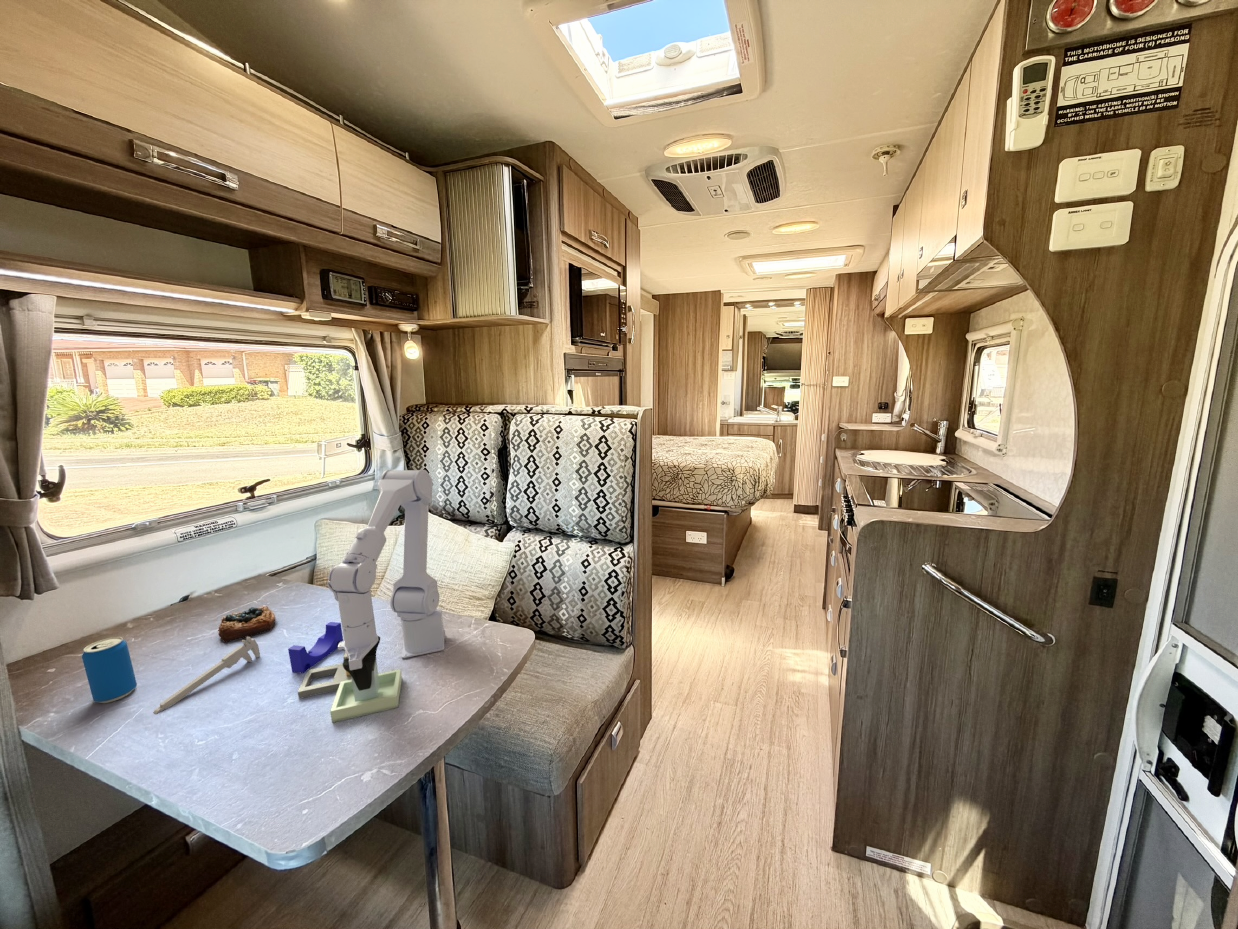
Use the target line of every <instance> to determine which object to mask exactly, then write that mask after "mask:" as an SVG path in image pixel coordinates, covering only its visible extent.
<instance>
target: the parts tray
mask: <svg viewBox="0 0 1238 929" xmlns="http://www.w3.org/2000/svg"><path fill="white" fill-rule="evenodd" d="M378 676H379V684H380V686H379V691H378V696H377V697H374V698H370V699H366V700H361V701H357V702H355V697H354V691H353V684H352V679H351V680H347V681H342V682H340V685H339V688H338V690H336V693H335V697H334V700H333V703H332V706H331V709H330V710H329V711H330V713H329V714H330V717H331V718H330V719H331V723H332V724H334V723H337V722H341V721H346V720H350V719H354V718H359V717H363V716H367V715H372V714H376V713H381V712H384V711H388V710H389V711H390V710H392V709H393V710H394V709H398V708H399V704H400V696H401V690H402V689H401V688H402V682H403V675H402V669H401V668H399V669H395V670H390V671H385V672H380V673H378Z"/></svg>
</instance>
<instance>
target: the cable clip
mask: <svg viewBox="0 0 1238 929" xmlns="http://www.w3.org/2000/svg"><path fill="white" fill-rule="evenodd" d="M342 641H344V637H343V630H342V624H341V622H336V621H334V622H333V621H329V622H327V623H326V624H325V633H323V634H322V635H321V636H319V637H318V638H317V641H316V642H315V644H314V645H312V647H311V648H310V649H309V650H308V651H307V648H306V646H305V645H294V644H293V645H292V646H290V647H288V649H287V650H288V658H289V662H290V667H291V672H292V673H297V674H305V673H307V672H308V670H311V668H313V667H315V665H317V664H319V663H320V662H321V661H323V660H324V659H326V658H327V657H328V656H329V655H331V654H332V653H334V652H335V651H337V650H338V645H339V643H340V642H342Z"/></svg>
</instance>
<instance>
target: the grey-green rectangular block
mask: <svg viewBox="0 0 1238 929" xmlns="http://www.w3.org/2000/svg"><path fill="white" fill-rule="evenodd" d="M378 674H379V669H378V663H377V657H376V658H375V661H374V664H373V667H372V682H371V687H370V689H365V690H361V691H359V690H358V688H357V686H356V684H355V682H354V680H353V678H352V684H353V691H354V697H355V702H357V701H361V700H366V699H370V698H374V697H377V696H378V691H379V686H380V684H379V676H378ZM351 677H352V676H351Z"/></svg>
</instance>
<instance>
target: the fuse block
mask: <svg viewBox="0 0 1238 929" xmlns="http://www.w3.org/2000/svg"><path fill="white" fill-rule="evenodd" d="M344 659H348V656H347V654H346V652H345V651H344V655H343V660H344ZM333 675H334V677H333V679H332V680H331V681H327V682H323V683H318V684H312V685H310V684H311V682H312V681H313V680H314V679H318V678H323V677H329V676H333ZM351 679H352V677H351V675H350V674H349V673H348V672H347V671H346V670H345V669H344V668H343V662H341V663H338V664H332V665H328V666H321V667H318V668H312V669H309V670H307V671H306V674H305V676H304V678H303V681H302V682H301V684H300V686H299V688H298V691H297V695H298V699H303V698H308V697H312V696H317V695H321V694H327V693H331V692H337V691H338V688H339V685H340V682H342V681H347V680H351Z"/></svg>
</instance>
